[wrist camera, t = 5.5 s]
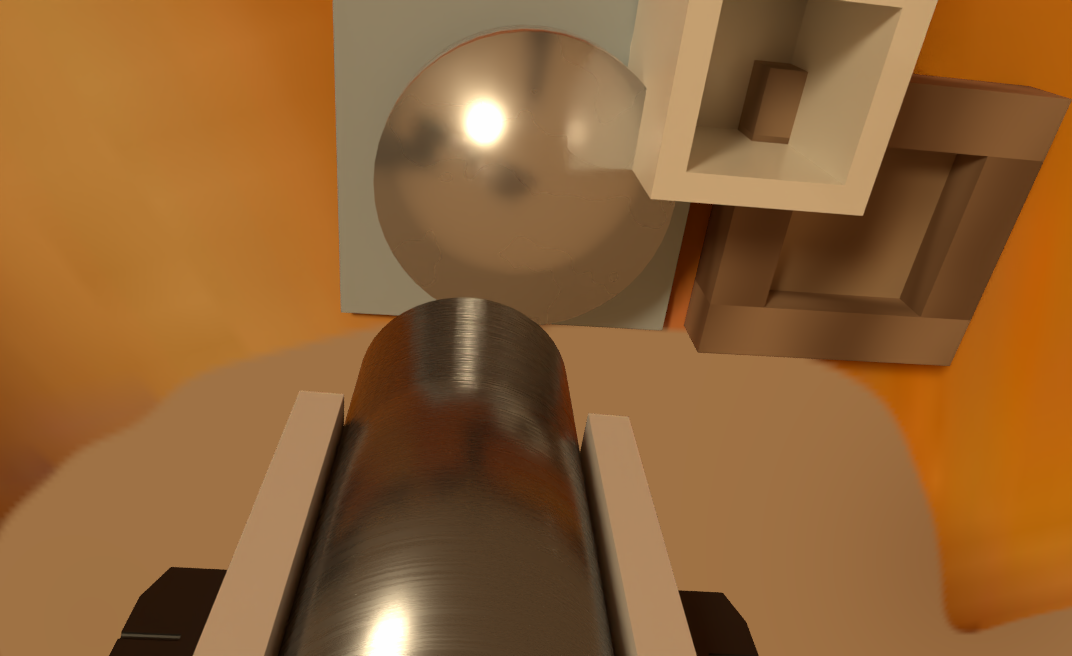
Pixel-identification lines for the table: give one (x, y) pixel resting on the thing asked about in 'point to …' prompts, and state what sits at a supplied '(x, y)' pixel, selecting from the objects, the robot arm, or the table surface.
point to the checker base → (370, 93)
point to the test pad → (519, 174)
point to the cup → (721, 85)
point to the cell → (455, 501)
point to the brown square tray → (876, 229)
